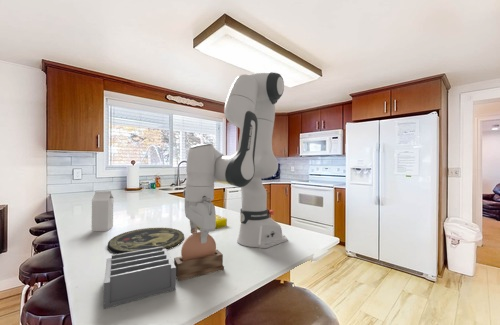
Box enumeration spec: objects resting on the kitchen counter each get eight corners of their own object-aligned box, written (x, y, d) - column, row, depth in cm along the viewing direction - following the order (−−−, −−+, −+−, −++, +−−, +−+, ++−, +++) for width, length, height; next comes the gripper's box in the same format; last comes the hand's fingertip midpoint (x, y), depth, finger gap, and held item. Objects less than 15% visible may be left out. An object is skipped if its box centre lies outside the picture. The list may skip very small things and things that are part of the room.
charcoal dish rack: (165, 266, 74) (165, 245, 74) (175, 289, 61) (176, 263, 61) (106, 279, 65) (106, 255, 65) (103, 308, 53) (104, 279, 53)
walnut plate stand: (215, 261, 78) (216, 248, 78) (223, 269, 72) (224, 255, 72) (173, 270, 71) (173, 256, 71) (178, 281, 65) (178, 265, 65)
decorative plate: (88, 247, 85) (141, 224, 115) (88, 251, 85) (140, 228, 115) (158, 255, 80) (195, 229, 109) (158, 260, 80) (195, 233, 109)
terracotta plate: (214, 262, 75) (214, 229, 75) (215, 264, 74) (216, 230, 74) (180, 270, 70) (181, 234, 70) (181, 272, 68) (182, 236, 68)
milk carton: (108, 230, 110) (108, 192, 110) (91, 231, 108) (91, 192, 108) (113, 226, 117) (113, 190, 116) (97, 227, 115) (98, 190, 115)
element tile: (213, 220, 133) (213, 212, 133) (228, 226, 121) (228, 217, 121) (189, 225, 123) (190, 216, 123) (203, 232, 111) (203, 222, 111)
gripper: (222, 198, 64) (220, 247, 64) (199, 190, 82) (198, 228, 82) (200, 199, 61) (198, 250, 61) (181, 190, 78) (180, 230, 78)
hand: (198, 237), depth 71 cm, fingers open, 8 cm apart
